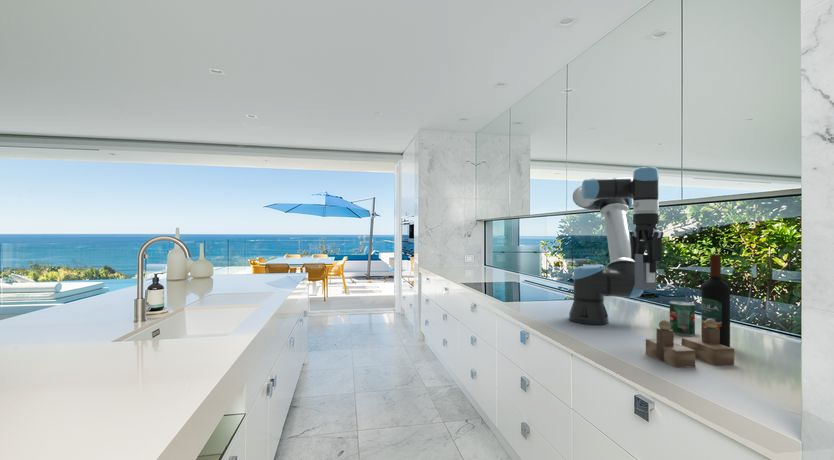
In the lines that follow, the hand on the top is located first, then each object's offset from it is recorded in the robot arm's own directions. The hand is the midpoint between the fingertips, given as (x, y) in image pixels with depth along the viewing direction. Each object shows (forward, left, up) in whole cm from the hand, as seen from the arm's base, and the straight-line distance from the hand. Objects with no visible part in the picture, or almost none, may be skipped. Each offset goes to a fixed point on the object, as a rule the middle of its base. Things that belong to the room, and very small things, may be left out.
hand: (645, 281), depth 132 cm
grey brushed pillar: (0, 0, -3) cm, 3 cm away
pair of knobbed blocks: (+18, 0, -21) cm, 27 cm away
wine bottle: (+7, +20, -21) cm, 30 cm away
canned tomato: (-9, +22, -21) cm, 32 cm away
